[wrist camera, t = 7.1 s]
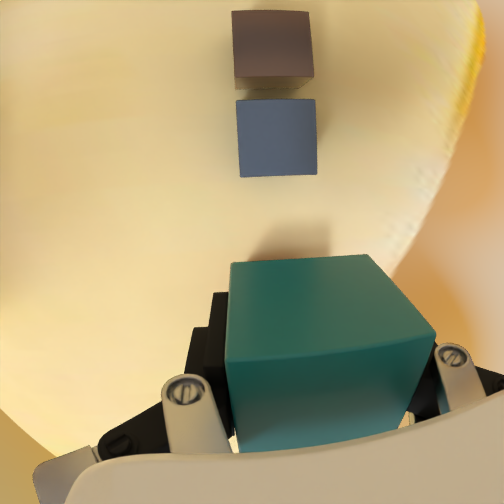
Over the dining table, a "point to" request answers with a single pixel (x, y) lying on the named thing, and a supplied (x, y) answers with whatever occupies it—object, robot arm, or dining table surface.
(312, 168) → the slate cube
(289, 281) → the teal cube
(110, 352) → the dining table surface
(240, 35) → the walnut cube
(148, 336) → the dining table surface
